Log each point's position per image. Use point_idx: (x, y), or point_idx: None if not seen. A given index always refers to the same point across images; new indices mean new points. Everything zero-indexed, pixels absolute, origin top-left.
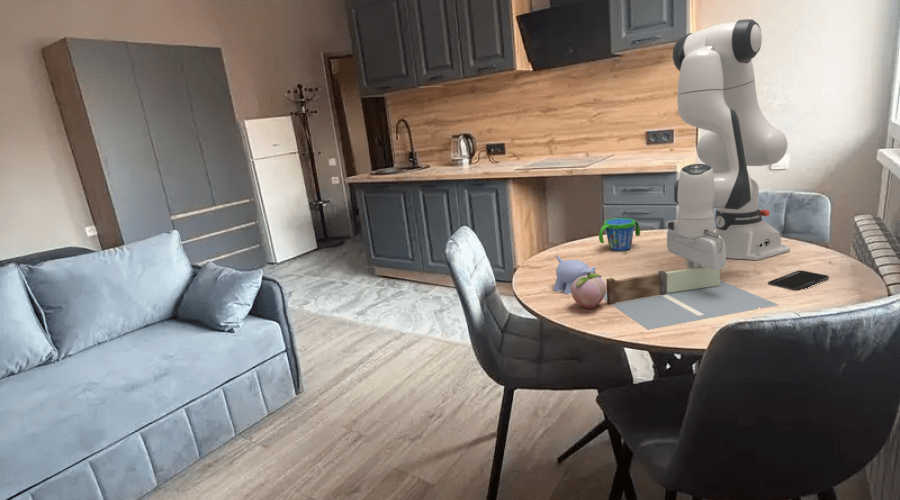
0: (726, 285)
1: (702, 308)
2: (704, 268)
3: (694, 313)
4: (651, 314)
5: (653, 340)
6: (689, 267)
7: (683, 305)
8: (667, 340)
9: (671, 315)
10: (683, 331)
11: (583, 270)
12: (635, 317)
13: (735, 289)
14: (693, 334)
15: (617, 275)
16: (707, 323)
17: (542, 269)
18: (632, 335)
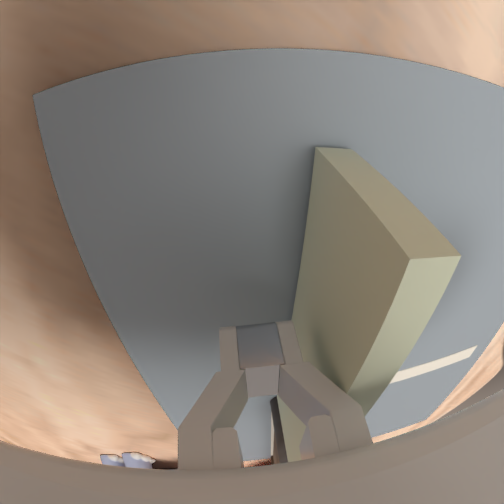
0: (360, 93)
1: (458, 339)
2: (382, 385)
3: (457, 361)
4: (388, 419)
5: (447, 410)
6: (237, 415)
7: (409, 373)
8: (463, 397)
9: (422, 395)
10: (469, 380)
11: None
12: (376, 433)
13: (444, 106)
14: (486, 370)
15: (39, 405)
16: (491, 343)
17: (22, 446)
18: (415, 427)
